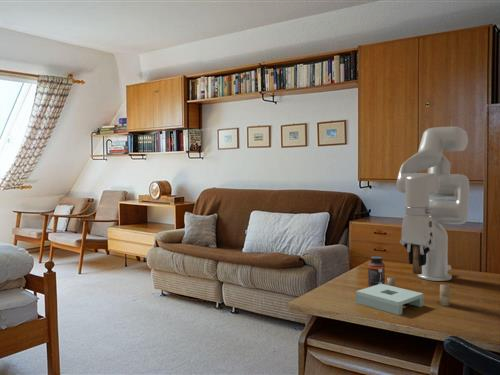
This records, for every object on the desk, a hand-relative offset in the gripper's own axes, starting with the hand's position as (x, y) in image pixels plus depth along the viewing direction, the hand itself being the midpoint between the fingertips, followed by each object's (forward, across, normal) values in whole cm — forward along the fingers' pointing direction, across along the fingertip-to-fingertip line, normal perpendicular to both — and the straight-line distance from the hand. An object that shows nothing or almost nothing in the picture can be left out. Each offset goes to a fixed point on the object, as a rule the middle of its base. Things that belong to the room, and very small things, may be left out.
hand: (417, 263), depth 154 cm
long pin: (+3, 0, 0) cm, 3 cm away
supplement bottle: (+12, +16, 0) cm, 20 cm away
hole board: (+11, +2, +14) cm, 18 cm away
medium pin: (+11, -10, +2) cm, 16 cm away
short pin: (+12, +10, +2) cm, 15 cm away
